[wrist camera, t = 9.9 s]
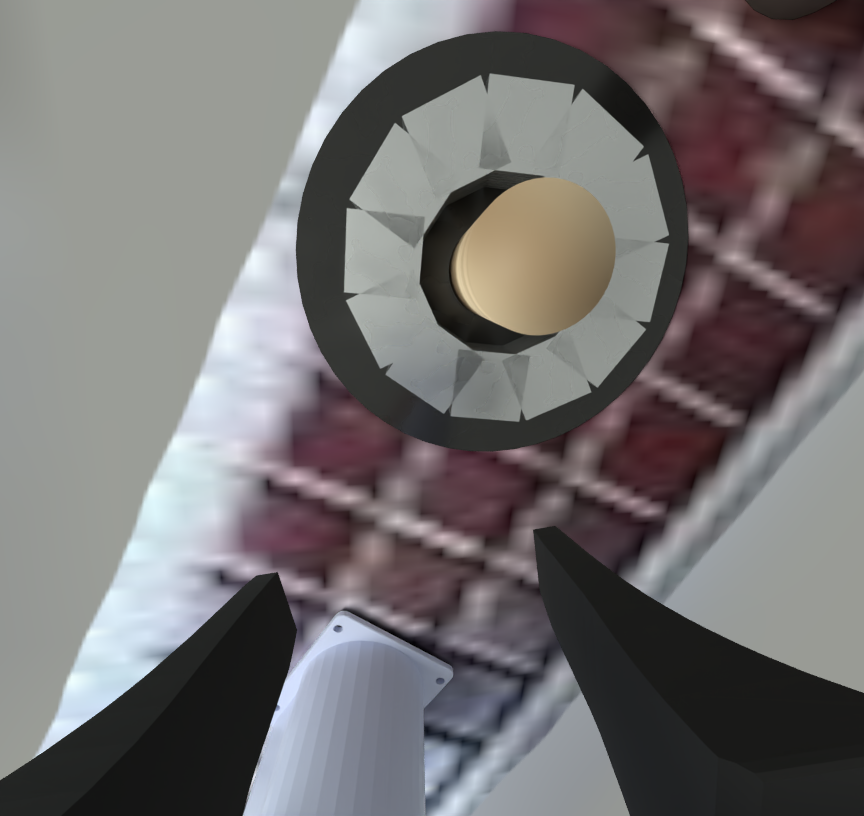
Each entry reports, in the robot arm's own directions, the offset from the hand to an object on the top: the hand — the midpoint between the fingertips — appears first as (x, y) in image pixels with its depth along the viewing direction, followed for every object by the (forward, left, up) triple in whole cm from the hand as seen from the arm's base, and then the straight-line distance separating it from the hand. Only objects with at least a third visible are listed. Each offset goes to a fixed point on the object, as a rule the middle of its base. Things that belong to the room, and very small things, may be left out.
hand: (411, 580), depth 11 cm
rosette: (+9, +2, -9) cm, 13 cm away
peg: (+9, +2, -9) cm, 13 cm away
